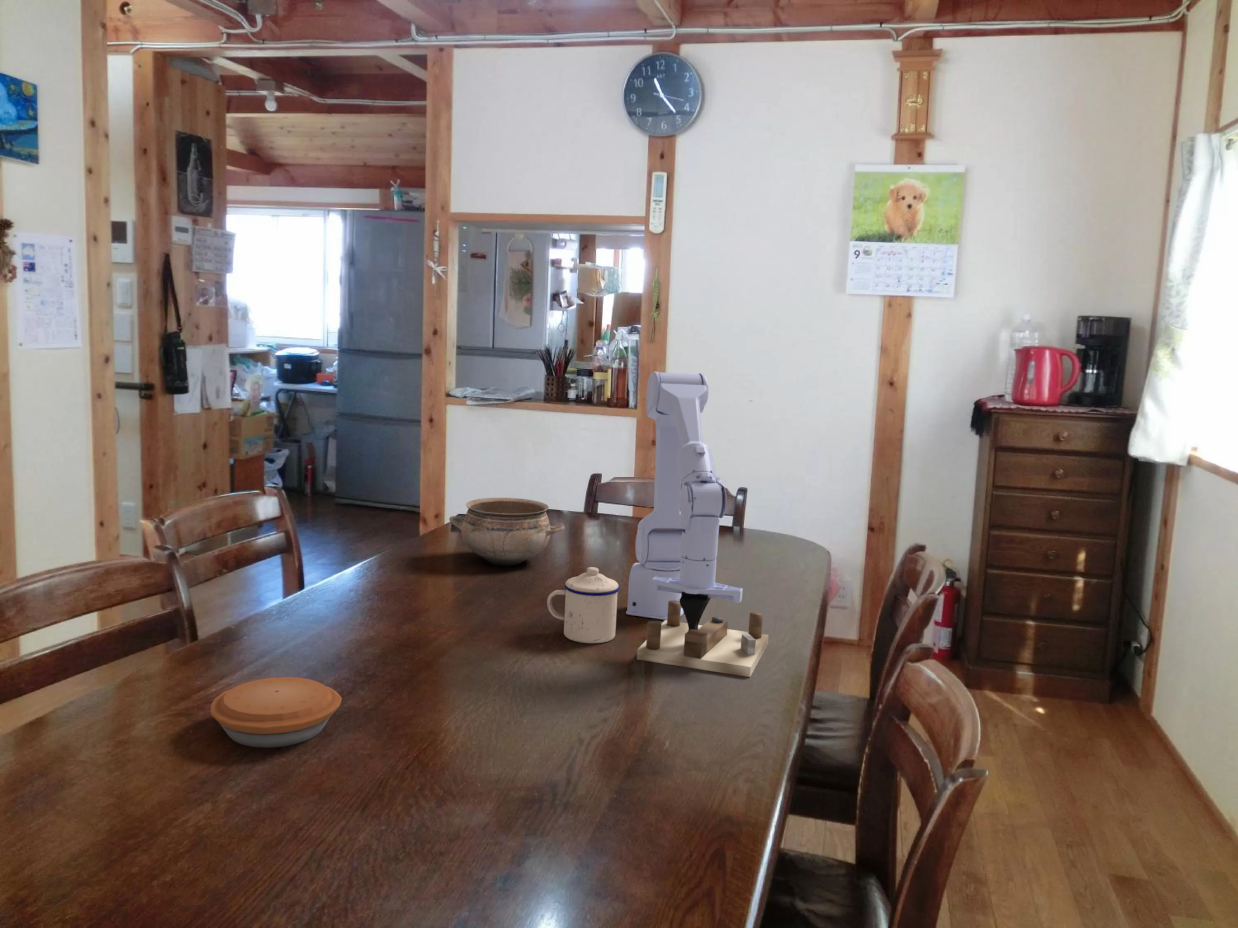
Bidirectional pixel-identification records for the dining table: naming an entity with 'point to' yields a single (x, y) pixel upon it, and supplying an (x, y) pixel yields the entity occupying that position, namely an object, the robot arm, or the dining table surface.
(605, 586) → the teacup with lid
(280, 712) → the pie
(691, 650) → the folding leg
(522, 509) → the cooking pot
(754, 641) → the stool seat
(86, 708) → the dining table surface
